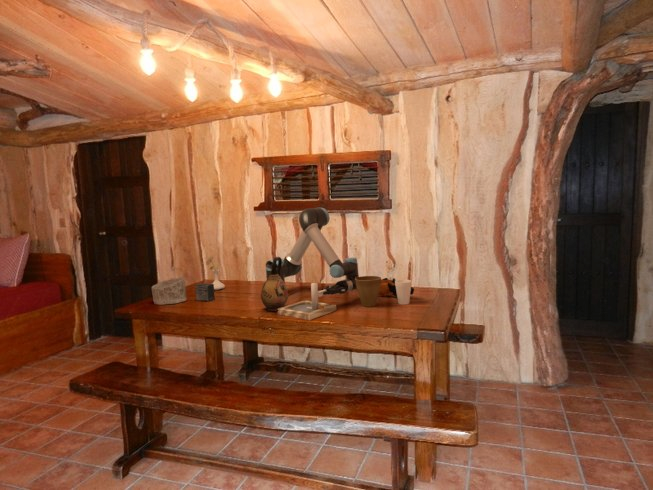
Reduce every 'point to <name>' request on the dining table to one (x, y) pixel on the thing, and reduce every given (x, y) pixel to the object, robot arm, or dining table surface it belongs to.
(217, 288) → the flower in vase
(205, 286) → the small box
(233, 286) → the dining table surface
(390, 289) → the tool
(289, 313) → the wooden square tray
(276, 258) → the ceramic jug
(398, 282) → the foam cup
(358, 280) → the plant pot
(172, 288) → the petrified wood
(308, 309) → the beige peg stand
